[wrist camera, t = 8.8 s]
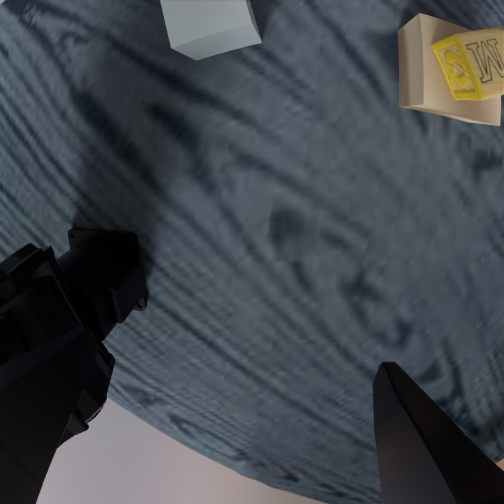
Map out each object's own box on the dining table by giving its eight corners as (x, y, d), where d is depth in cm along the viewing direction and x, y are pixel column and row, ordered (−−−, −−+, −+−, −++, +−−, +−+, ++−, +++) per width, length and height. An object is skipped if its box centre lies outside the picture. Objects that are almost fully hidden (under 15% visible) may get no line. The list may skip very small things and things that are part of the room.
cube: (196, 60, 15) (171, 48, 12) (183, 9, 14) (157, -12, 10) (262, 43, 14) (252, 23, 11) (246, -10, 13) (233, -38, 9)
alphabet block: (494, 89, 10) (528, 89, 7) (453, 102, 11) (485, 101, 8) (471, 36, 9) (502, 25, 6) (428, 45, 10) (455, 31, 7)
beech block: (397, 106, 15) (423, 104, 11) (396, 31, 13) (419, 13, 9) (465, 121, 14) (500, 126, 11) (464, 51, 12) (497, 41, 9)
